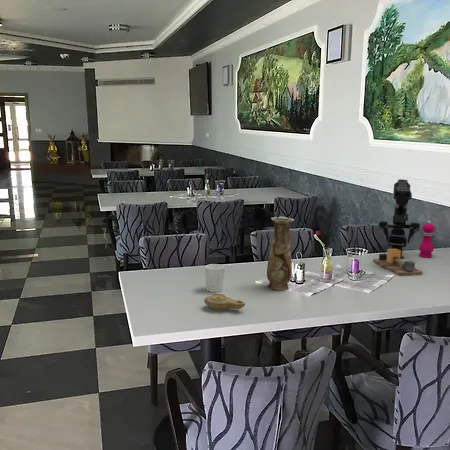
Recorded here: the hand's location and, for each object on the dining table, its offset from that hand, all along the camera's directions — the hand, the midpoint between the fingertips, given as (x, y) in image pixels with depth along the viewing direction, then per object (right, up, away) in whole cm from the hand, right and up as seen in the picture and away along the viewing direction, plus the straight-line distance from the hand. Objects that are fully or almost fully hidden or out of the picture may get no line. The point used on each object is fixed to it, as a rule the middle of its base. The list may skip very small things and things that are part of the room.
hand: (397, 243), depth 232 cm
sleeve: (+1, -10, +10) cm, 14 cm away
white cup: (-88, -18, -31) cm, 95 cm away
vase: (-60, -18, -25) cm, 68 cm away
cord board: (+2, -13, +7) cm, 15 cm away
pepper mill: (+26, -9, +31) cm, 42 cm away
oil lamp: (-84, -23, -52) cm, 101 cm away
